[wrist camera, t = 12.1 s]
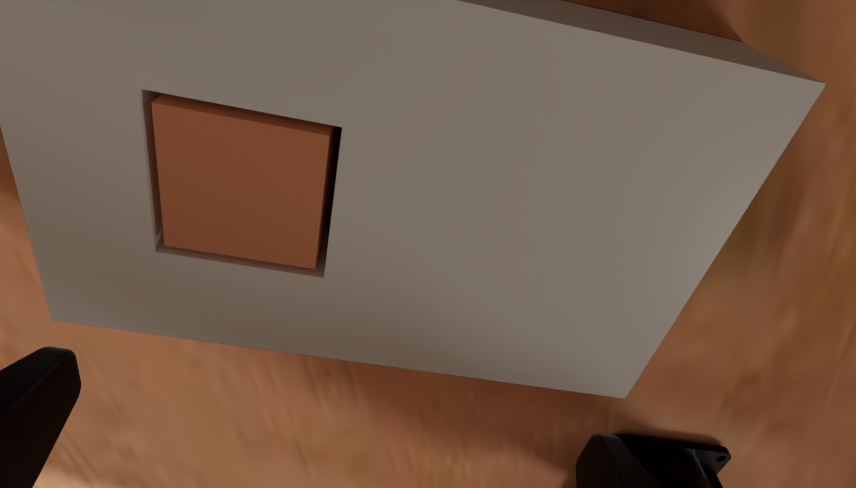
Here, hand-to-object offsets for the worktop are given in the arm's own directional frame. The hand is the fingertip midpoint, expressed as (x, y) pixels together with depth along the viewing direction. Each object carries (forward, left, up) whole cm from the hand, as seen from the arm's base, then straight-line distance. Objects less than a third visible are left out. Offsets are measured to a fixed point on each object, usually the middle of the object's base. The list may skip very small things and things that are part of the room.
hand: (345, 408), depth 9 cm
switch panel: (0, 0, -11) cm, 11 cm away
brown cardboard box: (+4, 0, -11) cm, 12 cm away
